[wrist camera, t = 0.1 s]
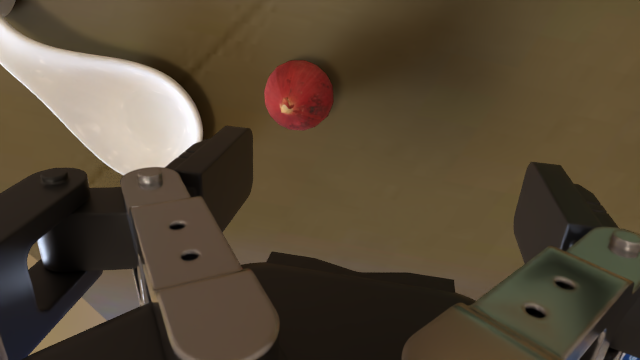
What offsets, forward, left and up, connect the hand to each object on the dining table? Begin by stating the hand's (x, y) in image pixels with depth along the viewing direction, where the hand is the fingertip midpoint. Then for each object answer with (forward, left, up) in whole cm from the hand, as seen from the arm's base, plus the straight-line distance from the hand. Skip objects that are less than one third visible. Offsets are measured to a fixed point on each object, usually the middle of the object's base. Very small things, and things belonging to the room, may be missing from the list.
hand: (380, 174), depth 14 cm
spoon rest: (+6, -28, -30) cm, 41 cm away
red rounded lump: (+5, -8, -30) cm, 31 cm away
